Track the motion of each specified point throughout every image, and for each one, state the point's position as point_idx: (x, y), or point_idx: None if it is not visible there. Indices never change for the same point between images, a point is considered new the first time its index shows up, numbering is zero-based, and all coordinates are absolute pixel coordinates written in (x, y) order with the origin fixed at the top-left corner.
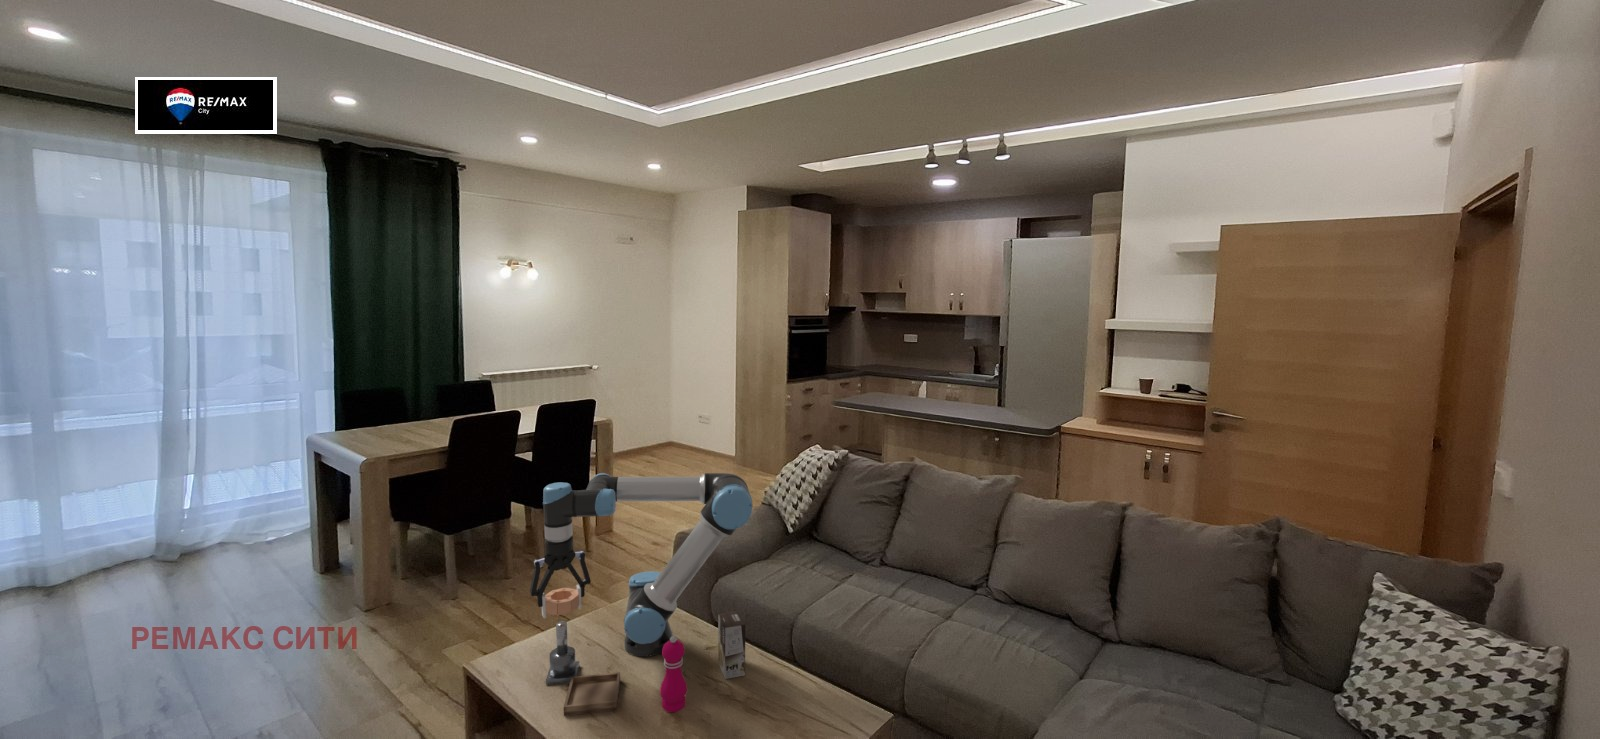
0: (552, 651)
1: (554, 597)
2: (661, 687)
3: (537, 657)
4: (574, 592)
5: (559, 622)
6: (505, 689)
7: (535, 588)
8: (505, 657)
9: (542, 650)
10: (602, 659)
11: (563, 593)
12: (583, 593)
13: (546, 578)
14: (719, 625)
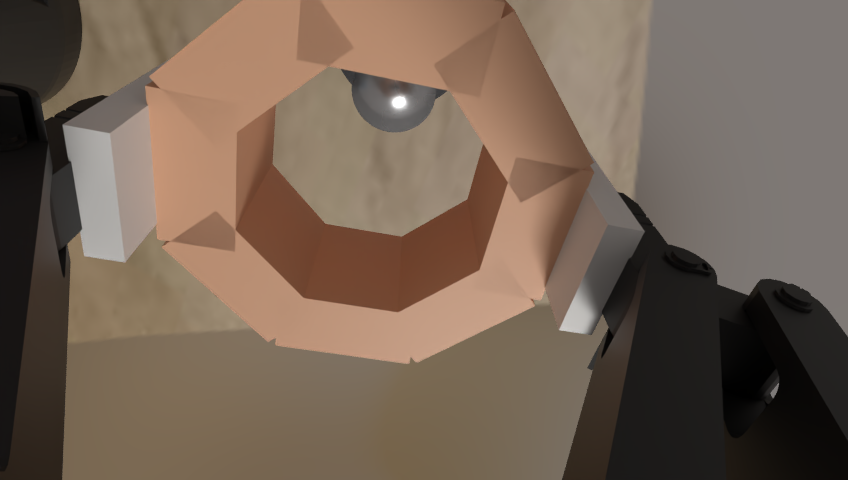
0: (438, 90)
1: (412, 272)
2: None
3: (438, 212)
4: (193, 175)
5: (398, 122)
6: (630, 81)
7: (817, 358)
8: None
9: None
10: (207, 14)
11: (312, 275)
12: (83, 111)
13: (707, 472)
14: None
